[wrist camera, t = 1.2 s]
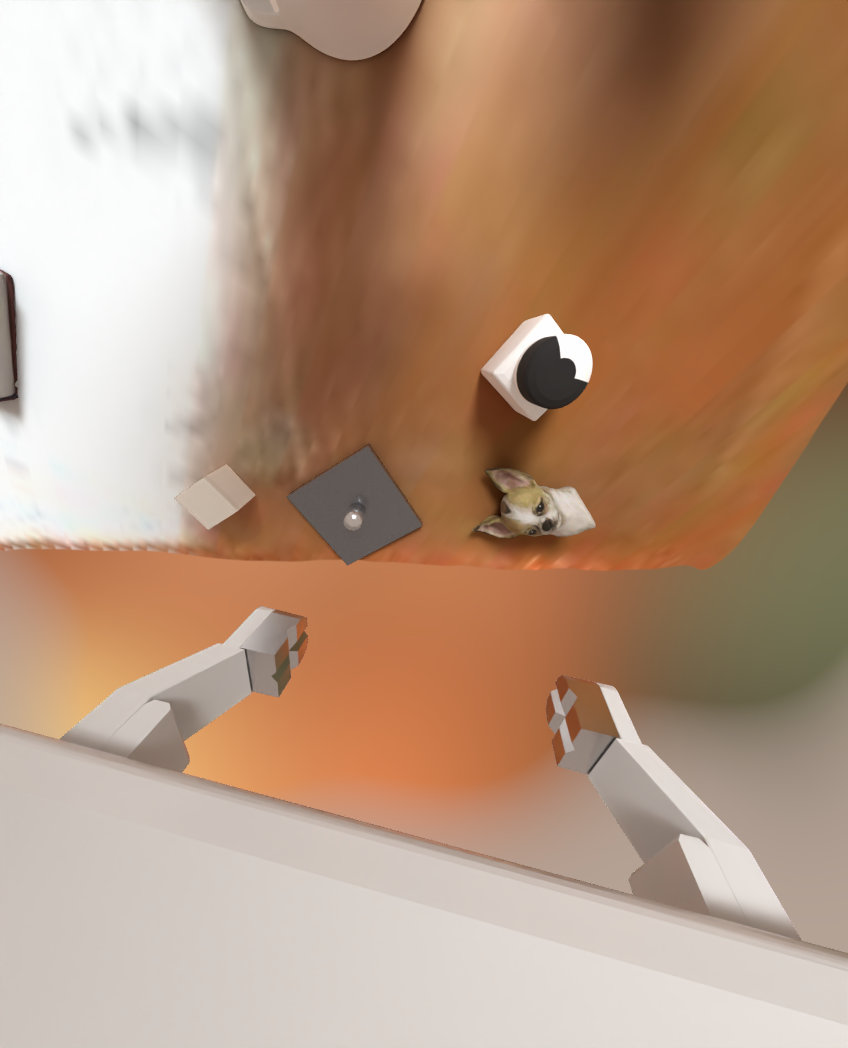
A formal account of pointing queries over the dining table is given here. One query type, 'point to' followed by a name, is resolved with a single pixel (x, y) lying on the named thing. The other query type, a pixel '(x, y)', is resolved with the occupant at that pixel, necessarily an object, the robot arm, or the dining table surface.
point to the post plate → (356, 490)
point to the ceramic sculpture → (534, 508)
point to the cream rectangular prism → (215, 496)
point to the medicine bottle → (539, 367)
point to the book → (7, 340)
